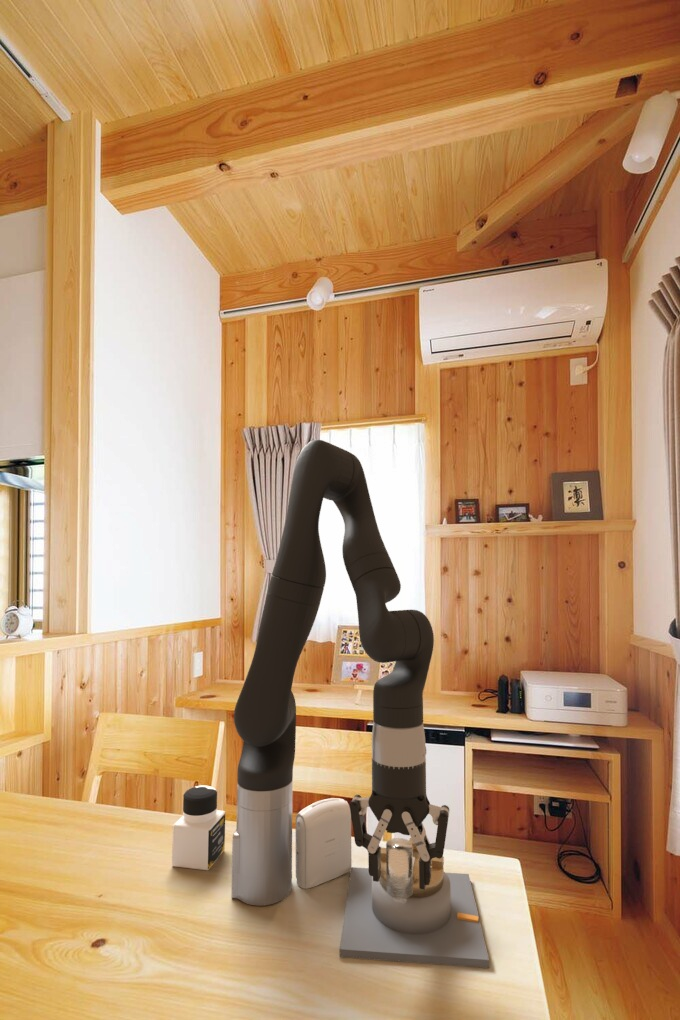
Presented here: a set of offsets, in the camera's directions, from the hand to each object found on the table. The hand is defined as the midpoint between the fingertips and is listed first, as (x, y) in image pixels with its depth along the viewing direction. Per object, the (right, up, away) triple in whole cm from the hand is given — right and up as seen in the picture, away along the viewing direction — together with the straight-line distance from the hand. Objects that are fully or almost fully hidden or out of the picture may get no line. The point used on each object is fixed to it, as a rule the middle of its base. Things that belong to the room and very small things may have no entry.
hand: (399, 881), depth 74 cm
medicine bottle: (-34, -13, +24) cm, 44 cm away
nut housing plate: (+3, -11, +9) cm, 14 cm away
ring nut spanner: (+2, -5, +6) cm, 8 cm away
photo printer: (-11, -12, +19) cm, 25 cm away
